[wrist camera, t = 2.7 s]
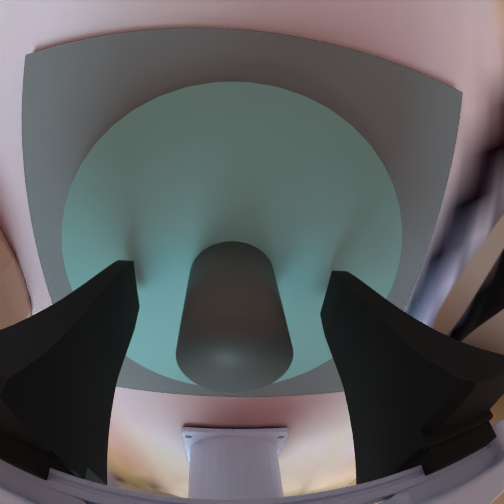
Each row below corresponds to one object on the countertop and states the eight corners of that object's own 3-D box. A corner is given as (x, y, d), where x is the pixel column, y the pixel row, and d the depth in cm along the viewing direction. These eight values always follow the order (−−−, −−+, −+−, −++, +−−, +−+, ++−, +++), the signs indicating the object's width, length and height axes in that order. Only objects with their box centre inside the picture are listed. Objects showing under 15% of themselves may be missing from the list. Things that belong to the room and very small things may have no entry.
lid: (344, 372, 16) (368, 439, 12) (104, 365, 14) (83, 435, 10) (423, 120, 9) (513, 145, 5) (58, 93, 8) (-31, 103, 4)
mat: (359, 383, 17) (362, 388, 17) (86, 374, 15) (83, 380, 15) (455, 92, 9) (462, 92, 9) (32, 55, 7) (25, 54, 7)
